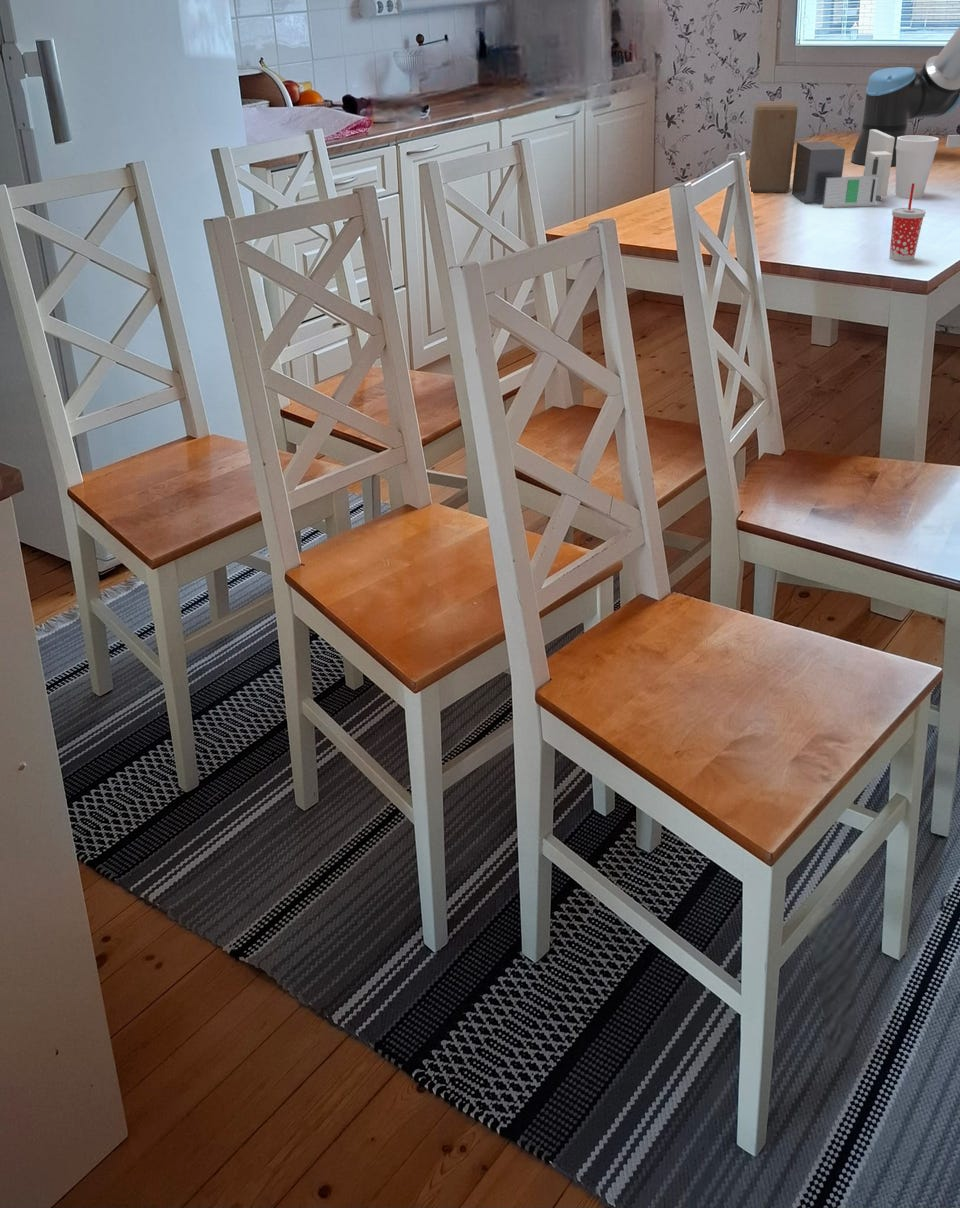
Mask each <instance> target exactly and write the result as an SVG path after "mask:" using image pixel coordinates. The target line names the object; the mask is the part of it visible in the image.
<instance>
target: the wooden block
mask: <svg viewBox="0 0 960 1208" xmlns="http://www.w3.org/2000/svg"><path fill="white" fill-rule="evenodd" d="M798 111H799V110H798V105H797V102H796V101H793V100H758V101H756V102H755V103H754V111H753V120H752V123H753V124H752V133H751V145H750V152H749V153H750V156H749V166H748V167H749V168H748V176H749V181H750V187H751V192H750V193H783V194H785V193H787V192H789V190H790V186H791V178H792V177H791V176H792V167H793V160H794V159H793V157H794V150H795V149H794V148H795V139H796V129H797V119H798Z"/></svg>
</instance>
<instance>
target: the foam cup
mask: <svg viewBox="0 0 960 1208" xmlns="http://www.w3.org/2000/svg"><path fill="white" fill-rule="evenodd" d="M939 141H940V140H939V137H937V136H931V135H915V134H914V135H911V134H910V135H906V136H900V137H897V143H896V166H895V191H894V192H895V197H898V198H901V199H910V193H911V187H912V183H914V191H913V197H912V199H921V198H923V196H924V193H925V190H926V186H927V182H928V179H929V175H930V172H931V170H932V166H933V163H934V158H935V156H936V152H937V150H938V145H939Z"/></svg>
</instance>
